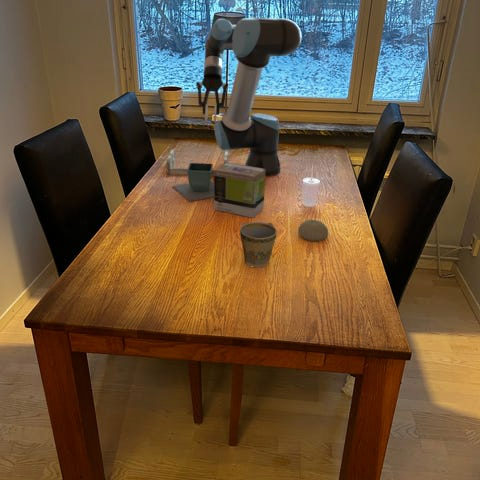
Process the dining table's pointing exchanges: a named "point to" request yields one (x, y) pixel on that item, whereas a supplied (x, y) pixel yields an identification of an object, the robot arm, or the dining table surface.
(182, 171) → the holder
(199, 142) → the dining table surface
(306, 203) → the beverage cup
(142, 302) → the dining table surface
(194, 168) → the flower pot
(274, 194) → the dining table surface
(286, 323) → the dining table surface
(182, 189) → the mat
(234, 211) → the tea box
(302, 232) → the sea urchin shell
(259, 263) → the ceramic cup
